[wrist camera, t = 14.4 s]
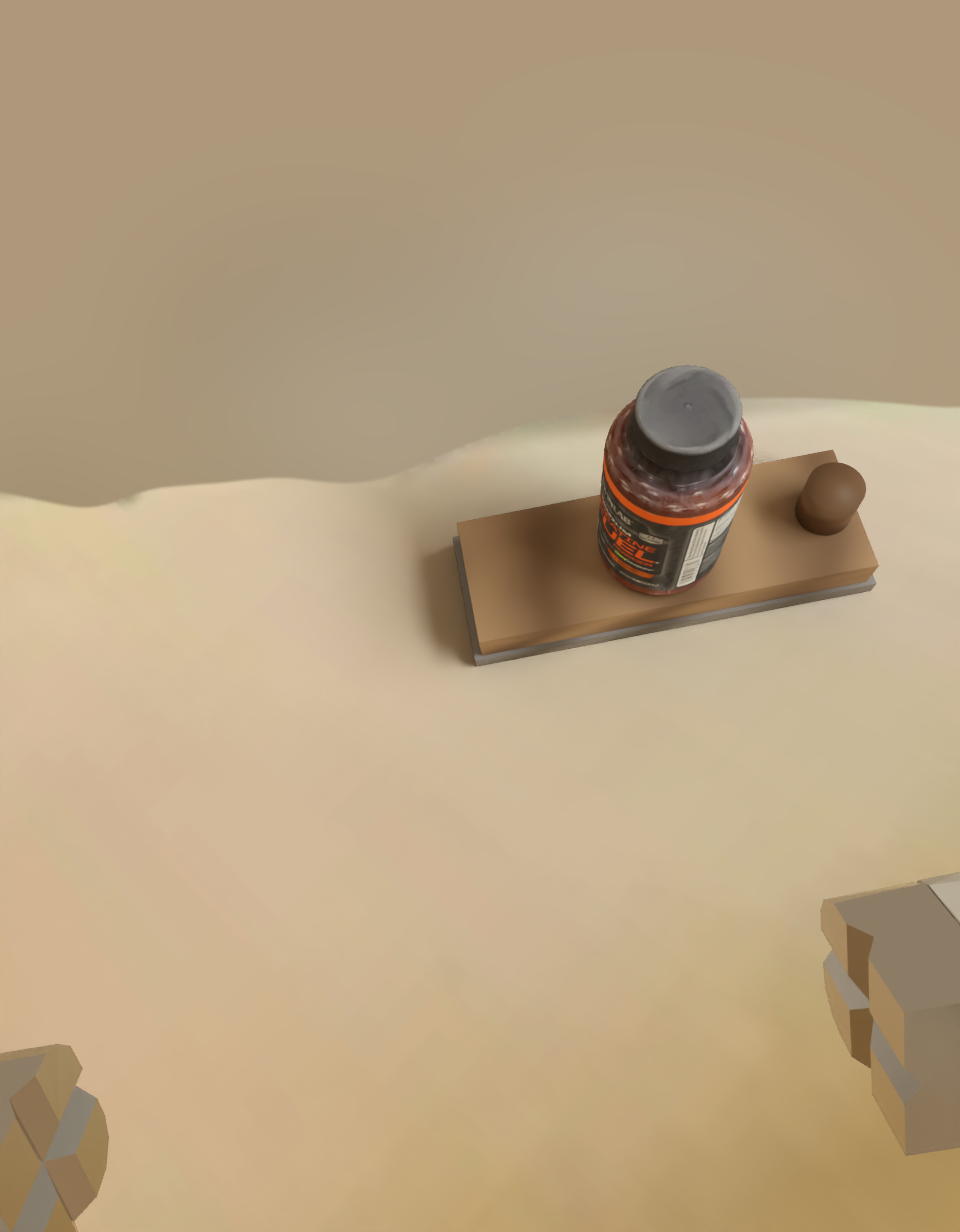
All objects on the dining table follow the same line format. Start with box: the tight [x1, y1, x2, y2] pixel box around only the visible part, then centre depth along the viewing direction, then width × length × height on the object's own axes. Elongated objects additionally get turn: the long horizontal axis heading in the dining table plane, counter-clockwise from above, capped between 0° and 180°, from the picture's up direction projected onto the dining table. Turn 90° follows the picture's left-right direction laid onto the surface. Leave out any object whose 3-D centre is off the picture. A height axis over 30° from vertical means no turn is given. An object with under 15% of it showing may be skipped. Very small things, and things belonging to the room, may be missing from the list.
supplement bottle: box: [597, 365, 754, 596], centre depth 38 cm, size 6×6×11 cm
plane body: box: [453, 450, 879, 666], centre depth 43 cm, size 20×7×5 cm, turn 100°
